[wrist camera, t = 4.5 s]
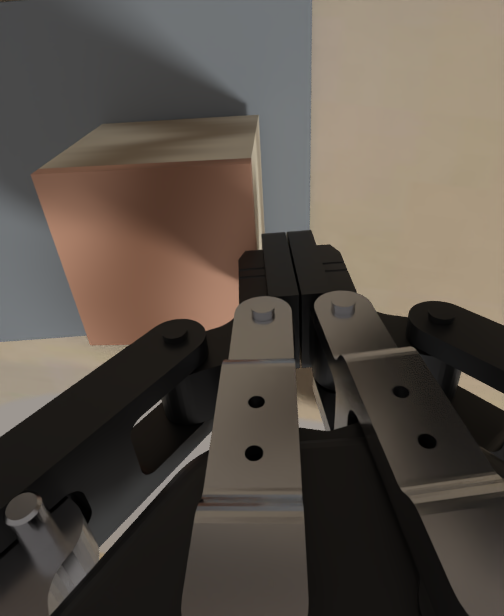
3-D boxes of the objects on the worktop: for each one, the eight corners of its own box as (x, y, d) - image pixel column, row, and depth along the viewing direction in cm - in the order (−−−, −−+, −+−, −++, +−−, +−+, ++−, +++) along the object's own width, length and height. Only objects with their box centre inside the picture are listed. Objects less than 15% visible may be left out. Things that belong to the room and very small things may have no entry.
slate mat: (310, -22, 15) (312, -23, 15) (307, 314, 23) (308, 319, 23) (-392, 33, 15) (-406, 33, 15) (-153, 348, 23) (-159, 353, 23)
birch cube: (258, 114, 17) (250, 163, 12) (266, 257, 20) (262, 341, 15) (102, 123, 17) (30, 174, 12) (135, 261, 20) (90, 345, 15)
